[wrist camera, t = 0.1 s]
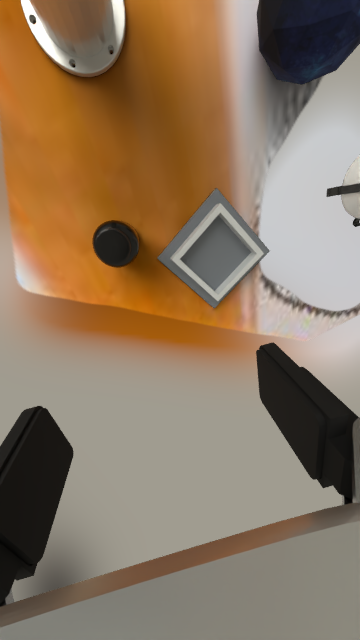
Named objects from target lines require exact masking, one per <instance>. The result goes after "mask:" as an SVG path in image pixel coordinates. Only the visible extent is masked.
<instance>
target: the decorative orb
mask: <svg viewBox="0 0 360 640" xmlns="http://www.w3.org/2000/svg"><path fill="white" fill-rule="evenodd" d="M257 23H258V37H259V51H260V52H261V54H262V56H263V57H264V59H265V61H266V62H267V64H268V66H269V67H270V69H271V71H272V72H273V74H274V76H275V77H276V79H277V80H281V81H286V82H292V83H297V84H305V83H307V82H310V81H312V80H314V79H317V78H319V77H321V76H324V75H326V74H328V73H331V72H333V71H335V70H337V69H338V68H339V66H340V65H341V64H342V63H343V62H344V61H345V60H346V58H347V57H348V56H349V55H350V54H351V53H352V52H353V51H354V49H355V48H356V47H357V46H358V45H359V44H360V0H259V5H258V10H257Z"/></svg>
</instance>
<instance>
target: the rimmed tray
mask: <svg viewBox="0 0 360 640" xmlns="http://www.w3.org/2000/svg"><path fill="white" fill-rule="evenodd" d="M268 252H269V250H268V249H267V247H266V246H265V245H264V244H263V242H262V241H261V240H260V239H259V238H258V236H257V235H256V234H255V233H254V232H253V231H252V229H251V228H250V227H249V226H248V225H247V223H246V222H245V221H244V220H243V219H242V217H241V216H240V215H239V214H238V213H237V212H236V210H235V209H234V208H233V207H232V206H231V204H230V203H229V202H228V201H227V200H226V199H225V197H224V196H223V195H222V194H221V193H220V191H219V190H218V189H217V188H216V189H214V191H213V192H212V193H211V194H210V195H209V197H208V198H207V199H206V200H205V201H204V203H203V204H202V205H201V206H200V207H199V209H198V210H197V211H196V212H195V213H194V215H193V216H192V217H191V218H190V219H189V221H188V222H187V223H186V224H185V225H184V227H183V228H182V229H181V230H180V231H179V232H178V234H177V235H176V236H175V237H174V238H173V240H172V241H171V242H170V243H169V244H168V246H167V247H166V248H165V249H164V250H163V252H162V253H161V254H160V255H159V256H158V258H157V259H158V260H160V261H161V262H162V263H163V264H164V265H165V266H166V267H168V268H169V269H170V270H171V271H172V272H173V273H174V274H176V275H177V276H178V277H179V278H180V279H181V280H182V281H183V282H185V283H186V284H187V285H188V286H189V287H190V288H191V289H193V290H194V291H195V292H196V293H197V294H198V295H199V296H201V297H202V298H203V299H204V300H205V301H206V302H207V303H209V304H210V305H211V306H212V307H213V308H215V307H216V306H217V305H218V304H219V303H220V302H221V301H222V300H223V299H224V298H225V297H226V296H227V295H228V294H229V293H230V292H231V290H232V289H233V288H234V287H235V286H236V285H237V284H238V283H239V282H240V281H241V280H242V279H243V278H244V277H245V276H246V275H247V274H248V273H249V272H250V271H251V270H252V269H253V268H254V267H255V266H256V265H257V264H258V263H259V262H260V261H261V259H262V258H263V257H264V256H265V255H266V254H267V253H268Z"/></svg>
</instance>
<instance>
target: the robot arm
mask: <svg viewBox="0 0 360 640" xmlns="http://www.w3.org/2000/svg"><path fill="white" fill-rule="evenodd" d="M21 5H22V8H23V11H24V15H25V18H26V20H27V22H28V25H29V27H30V29H31V31H32V33H33V35H34V37H35V38H36V40H37V42H38V43H39V45H40V46H41V48H42V49H43V50H44V52H45V53H46V54H47V55H48V56H49V57H50V59H51V60H52V61H53V62H54V63H56V64H57V65H58V66H59V67H61V68H62V69H63V70H65V71H67V72H69V73H71V74H74V75H77V76H80V77H93V76H98V75H100V74H102V73H104V72H106V71H107V70H108V69H109V68H110V67H112V66H113V64H114V63H115V61H116V60H117V59H118V57H119V54H120V52H121V50H122V47H123V43H124V39H125V29H126V18H125V6H124V0H21ZM34 23H36V24H35V25H34ZM110 52H113V54H110ZM73 65H75V66H76V67H74V68H73ZM256 354H257V367H258V379H259V392H260V398H261V401H262V403H263V404H264V406H265V407H266V409H267V410H268V412H269V414H270V415H271V417H272V418H273V420H274V421H275V423H276V424H277V426H278V427H279V429H280V431H281V432H282V434H283V435H284V437H285V438H286V440H287V441H288V443H289V445H290V446H291V448H292V449H293V451H294V452H295V454H296V456H297V457H298V459H299V460H300V462H301V463H302V465H303V466H304V468H305V469H306V471H307V472H308V474H309V475H310V477H311V478H312V479H317V480H318V481H319V483H320V484H321V486H322V487H323V488H325V487H329V486H332V485H333V486H334V487H335V489H336V490H337V492H338V493H339V494H341V495H342V506H337V507H332V508H327V509H323V510H320V511H316V512H312V513H309V514H305V515H301V516H298V517H294V518H290V519H287V520H283V521H279V522H276V523H273V524H269V525H266V526H262V527H259V528H256V529H253V530H249V531H246V532H242V533H239V534H236V535H232V536H229V537H226V538H222V539H219V540H216V541H212V542H209V543H206V544H202V545H199V546H195V547H192V548H189V549H186V550H182V551H179V552H176V553H172V554H169V555H166V556H163V557H159V558H156V559H153V560H149V561H146V562H143V563H140V564H136V565H133V566H130V567H127V568H123V569H120V570H117V571H113V572H110V573H107V574H104V575H100V576H97V577H94V578H91V579H88V580H84V581H81V582H78V583H75V584H71V585H68V586H65V587H62V588H59V589H56V590H52V591H49V592H46V593H42V594H39V595H36V596H33V597H30V598H27V599H24V600H20V601H17V602H14V599H13V595H12V590H11V588H12V585H13V582H14V579H16V580H20V579H24V578H27V577H30V576H34V573H35V569H36V566H37V563H38V562H39V561H40V560H41V558H42V557H43V554H44V551H45V548H46V544H47V541H48V538H49V534H50V531H51V528H52V524H53V521H54V518H55V514H56V511H57V508H58V504H59V501H60V498H61V495H62V491H63V488H64V485H65V481H66V478H67V475H68V472H69V468H70V465H71V461H72V458H73V448H72V446H71V445H70V443H69V442H68V440H67V439H66V437H65V436H64V434H63V433H62V431H61V430H60V428H59V427H58V425H57V424H56V422H55V420H54V419H53V417H52V416H51V415H50V413H49V412H48V410H47V409H46V408H43V407H41V406H37V407H33V408H29V409H26V410H24V411H23V412H22V413H21V415H20V416H19V418H18V419H17V421H16V423H15V424H14V426H13V427H12V429H11V431H10V432H9V434H8V435H7V437H6V438H5V440H4V441H3V443H2V445H1V446H0V640H360V418H359V417H358V416H357V415H356V414H354V413H353V412H352V411H351V410H350V409H349V408H348V407H347V406H346V405H345V404H344V403H343V402H342V401H340V400H339V399H338V398H337V397H336V396H335V395H334V394H333V393H332V392H330V390H328V389H327V388H326V387H325V386H324V385H323V384H322V383H321V382H320V381H319V380H318V379H317V378H315V377H314V376H313V375H312V374H311V373H310V372H309V371H308V370H307V369H305V368H304V367H299V366H298V365H297V364H296V363H295V362H294V361H293V360H291V358H290V357H288V356H287V355H286V354H285V353H284V352H283V351H282V350H281V349H280V348H279V347H278V346H277V345H276V344H275V343H269V344H265V345H262V346H260V348H259V350H257V351H256Z"/></svg>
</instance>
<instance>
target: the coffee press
mask: <svg viewBox="0 0 360 640" xmlns="http://www.w3.org/2000/svg"><path fill="white" fill-rule="evenodd" d="M334 195H341V196H342V203H343V206H344V208H345V210H346V211H347V212H348V213H349V214H350V215H351V216H353V217H355V219H354V221H353V225H354V226H355V227H357V226H360V223H359V220H360V155H359V156H358V157H357V158H356V160H355V161H354V162H353V163H352V165H351V166H350V168H349V170H348V171H347V173H346V175H345V178H344V181H343V185H342V186H340V187H334V188H329V189H327V197H329V196H334Z"/></svg>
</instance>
